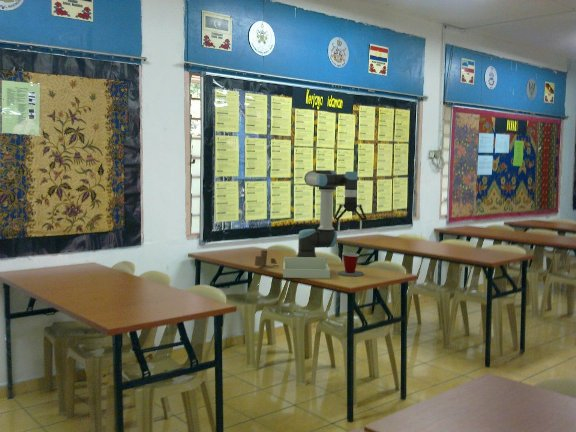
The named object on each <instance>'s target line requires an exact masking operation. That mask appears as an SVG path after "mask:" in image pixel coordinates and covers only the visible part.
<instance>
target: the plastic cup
mask: <svg viewBox="0 0 576 432" xmlns="http://www.w3.org/2000/svg"><path fill="white" fill-rule="evenodd" d="M342 257H343V258H342V259H343V265H344V270H345V272H346V273H355V271H356V268H357V265H358V259H359V257H360V253H356V252H342Z"/></svg>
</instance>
